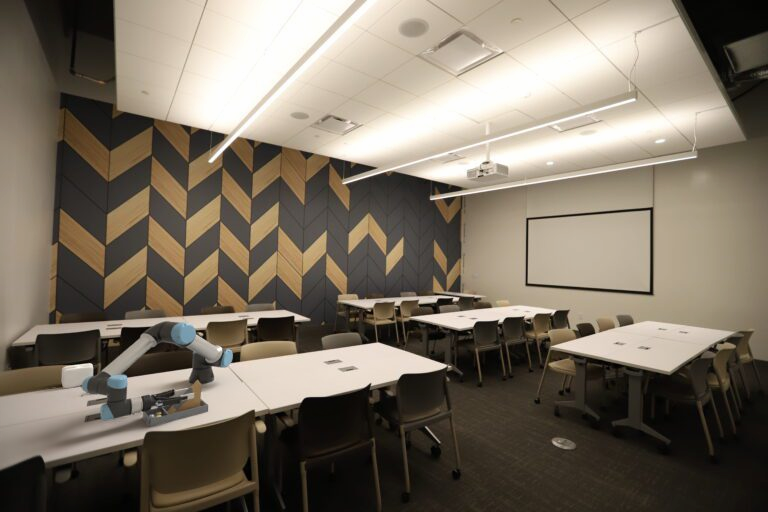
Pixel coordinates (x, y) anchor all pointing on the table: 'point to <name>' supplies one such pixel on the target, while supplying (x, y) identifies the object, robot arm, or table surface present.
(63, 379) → the cable organizer
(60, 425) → the table surface
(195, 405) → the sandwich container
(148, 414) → the parts tub
